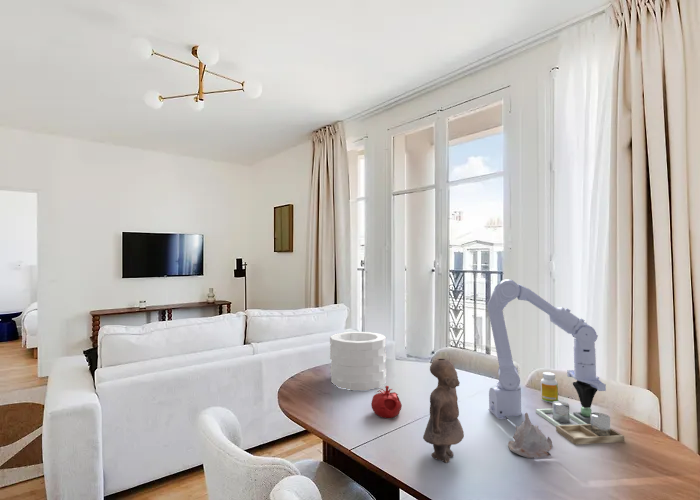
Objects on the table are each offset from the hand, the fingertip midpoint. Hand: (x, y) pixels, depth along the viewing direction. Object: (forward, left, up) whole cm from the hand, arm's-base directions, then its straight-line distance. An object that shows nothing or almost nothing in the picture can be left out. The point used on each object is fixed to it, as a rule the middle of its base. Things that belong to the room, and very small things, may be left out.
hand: (586, 406), depth 117 cm
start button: (0, 0, -2) cm, 2 cm away
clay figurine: (-50, -15, -5) cm, 52 cm away
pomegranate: (-60, +13, -5) cm, 62 cm away
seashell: (-26, -13, -5) cm, 29 cm away
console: (0, 0, -5) cm, 5 cm away
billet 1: (-8, +1, -5) cm, 9 cm away
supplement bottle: (0, +19, -5) cm, 20 cm away
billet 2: (-3, -10, -4) cm, 11 cm away
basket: (-66, +49, -5) cm, 82 cm away
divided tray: (-7, -10, -5) cm, 13 cm away
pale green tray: (-8, +1, -5) cm, 9 cm away
